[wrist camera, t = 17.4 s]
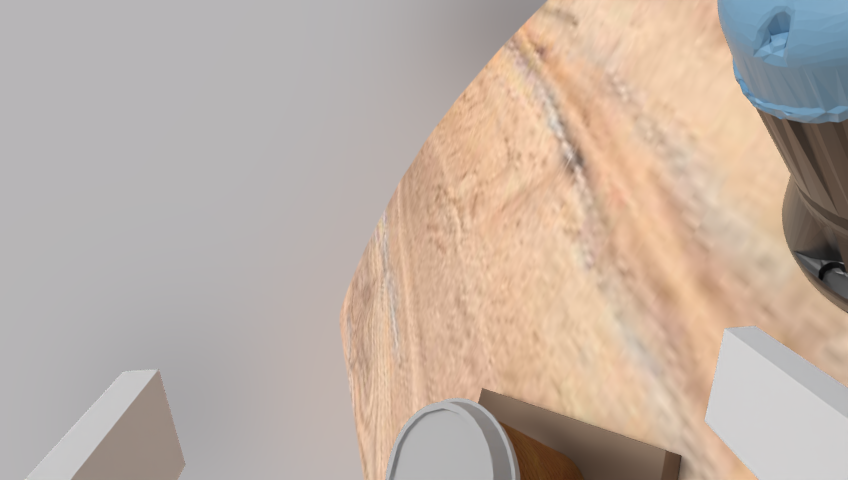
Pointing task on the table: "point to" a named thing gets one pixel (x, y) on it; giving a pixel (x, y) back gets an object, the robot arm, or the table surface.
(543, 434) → the walnut board
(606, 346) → the table surface
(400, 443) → the disposable coffee cup
